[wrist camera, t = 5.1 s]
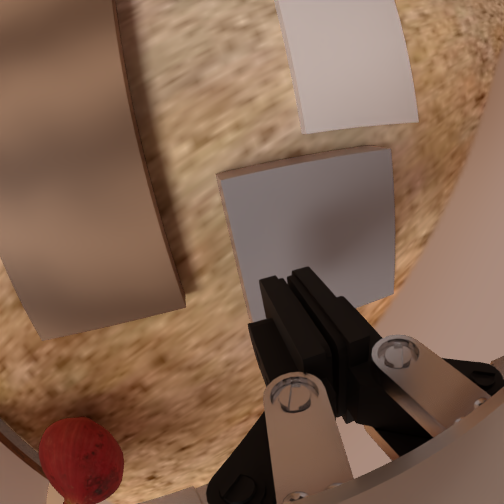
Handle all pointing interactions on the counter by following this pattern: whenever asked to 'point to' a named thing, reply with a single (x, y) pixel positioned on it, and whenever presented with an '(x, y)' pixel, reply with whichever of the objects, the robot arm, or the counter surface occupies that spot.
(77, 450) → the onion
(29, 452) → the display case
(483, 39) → the counter surface
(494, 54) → the counter surface
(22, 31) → the rest
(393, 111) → the stepped grey white block
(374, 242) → the tile
